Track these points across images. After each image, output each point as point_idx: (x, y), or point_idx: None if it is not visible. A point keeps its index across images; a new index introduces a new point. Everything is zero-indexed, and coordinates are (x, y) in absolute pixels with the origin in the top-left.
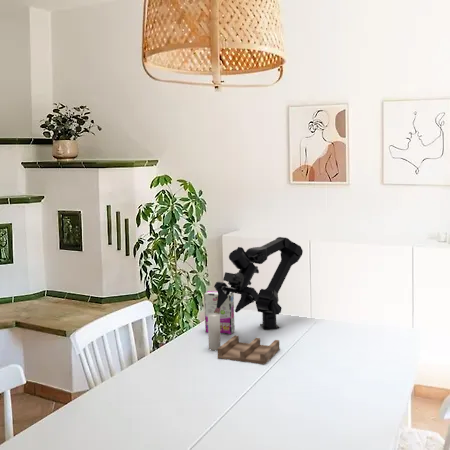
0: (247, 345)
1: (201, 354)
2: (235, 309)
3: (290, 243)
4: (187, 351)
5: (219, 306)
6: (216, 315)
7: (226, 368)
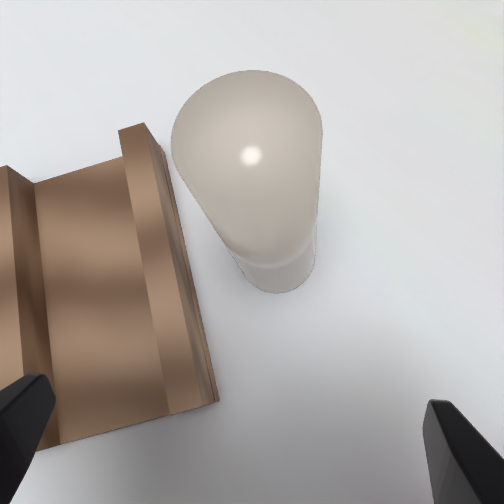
0: (12, 272)
1: None
2: (22, 383)
3: None
4: (376, 129)
5: (430, 463)
6: (193, 128)
7: (56, 89)
